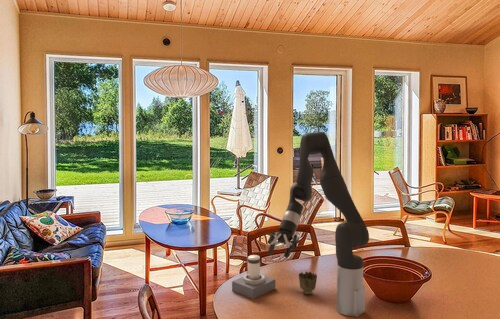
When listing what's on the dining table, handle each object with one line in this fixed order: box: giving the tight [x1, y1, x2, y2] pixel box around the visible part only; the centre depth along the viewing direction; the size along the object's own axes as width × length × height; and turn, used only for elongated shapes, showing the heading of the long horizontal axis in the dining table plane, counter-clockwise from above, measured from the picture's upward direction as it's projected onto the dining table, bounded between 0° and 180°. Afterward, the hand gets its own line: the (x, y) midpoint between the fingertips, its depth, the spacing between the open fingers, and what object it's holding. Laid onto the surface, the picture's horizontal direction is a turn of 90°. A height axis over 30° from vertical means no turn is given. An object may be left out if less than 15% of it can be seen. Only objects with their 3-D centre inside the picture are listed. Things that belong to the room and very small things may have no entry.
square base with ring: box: [231, 273, 276, 300], centre depth 159 cm, size 12×14×6 cm
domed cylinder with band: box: [247, 254, 261, 280], centre depth 159 cm, size 5×5×10 cm
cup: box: [298, 271, 318, 296], centre depth 155 cm, size 8×7×8 cm
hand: (277, 255), depth 167 cm, fingers open, 8 cm apart
